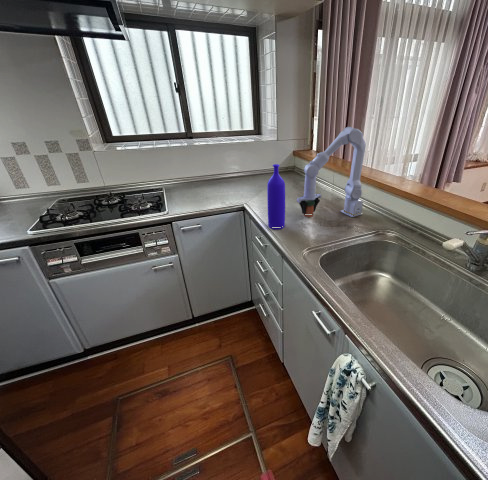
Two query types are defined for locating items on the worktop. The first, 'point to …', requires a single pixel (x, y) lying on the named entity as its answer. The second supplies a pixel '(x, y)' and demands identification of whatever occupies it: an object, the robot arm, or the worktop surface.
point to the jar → (309, 211)
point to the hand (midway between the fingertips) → (308, 212)
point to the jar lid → (310, 202)
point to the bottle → (276, 200)
